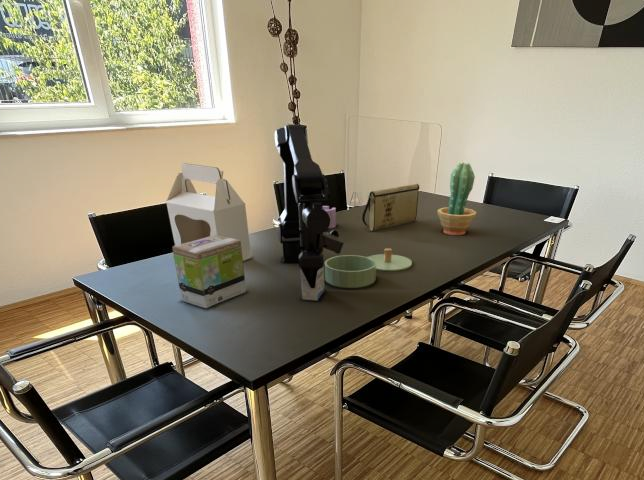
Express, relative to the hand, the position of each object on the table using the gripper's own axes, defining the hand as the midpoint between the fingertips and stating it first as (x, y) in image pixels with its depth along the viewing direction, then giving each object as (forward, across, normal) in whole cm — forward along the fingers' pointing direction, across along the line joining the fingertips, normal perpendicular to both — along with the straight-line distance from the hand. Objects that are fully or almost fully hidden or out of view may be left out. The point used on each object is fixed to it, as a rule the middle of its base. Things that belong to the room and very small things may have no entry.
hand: (312, 282), depth 129 cm
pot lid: (+3, +26, -24) cm, 35 cm away
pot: (+4, +12, -11) cm, 17 cm away
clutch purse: (+4, +77, -31) cm, 83 cm away
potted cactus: (+4, +66, -56) cm, 87 cm away
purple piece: (+4, +72, 0) cm, 72 cm away
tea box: (+4, 0, +27) cm, 27 cm away
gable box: (+4, +35, +34) cm, 49 cm away
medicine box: (+4, 0, 0) cm, 4 cm away
